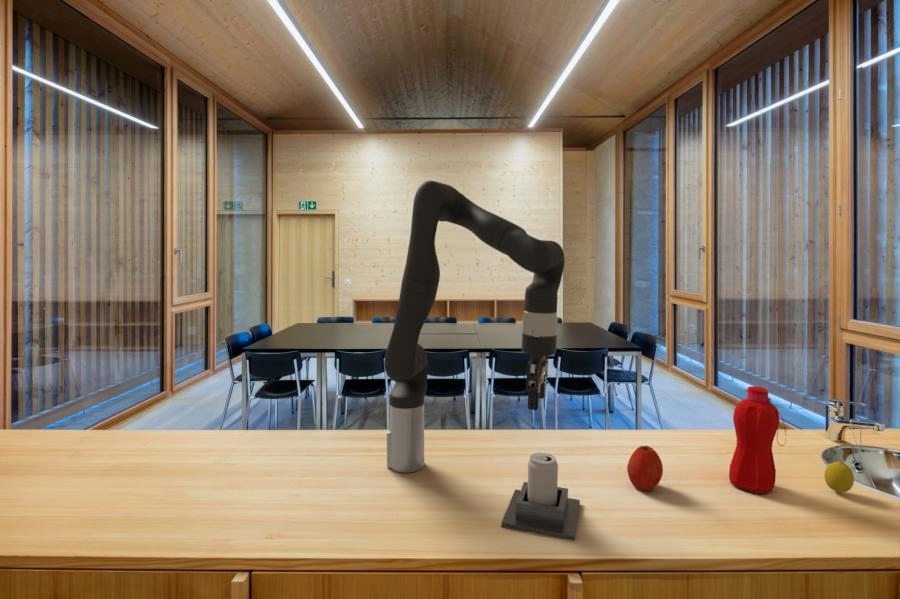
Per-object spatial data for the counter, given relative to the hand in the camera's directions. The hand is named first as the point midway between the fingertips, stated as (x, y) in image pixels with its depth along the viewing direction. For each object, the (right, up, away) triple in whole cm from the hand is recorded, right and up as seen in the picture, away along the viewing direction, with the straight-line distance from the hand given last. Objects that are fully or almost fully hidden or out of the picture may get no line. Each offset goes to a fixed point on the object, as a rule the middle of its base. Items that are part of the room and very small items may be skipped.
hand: (536, 403), depth 109 cm
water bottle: (+56, -23, +12) cm, 62 cm away
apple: (+29, -23, +11) cm, 39 cm away
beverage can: (+1, -23, -1) cm, 23 cm away
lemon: (+74, -24, +9) cm, 78 cm away
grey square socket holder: (+1, -24, -2) cm, 24 cm away
